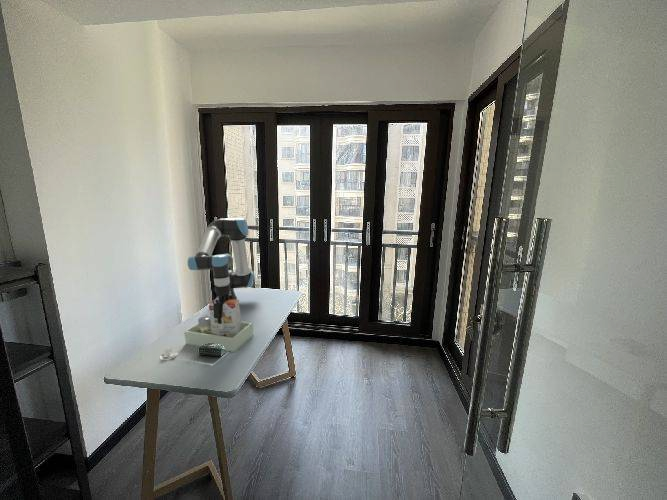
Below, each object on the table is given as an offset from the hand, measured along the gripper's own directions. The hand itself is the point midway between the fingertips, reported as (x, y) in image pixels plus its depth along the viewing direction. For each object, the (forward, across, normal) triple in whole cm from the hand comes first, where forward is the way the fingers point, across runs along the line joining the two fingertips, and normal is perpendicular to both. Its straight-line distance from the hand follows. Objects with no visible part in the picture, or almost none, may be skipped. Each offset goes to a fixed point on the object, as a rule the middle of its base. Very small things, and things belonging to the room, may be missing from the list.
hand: (226, 325), depth 148 cm
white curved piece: (+10, +22, -18) cm, 30 cm away
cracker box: (+7, 0, 0) cm, 7 cm away
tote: (+9, 0, -4) cm, 10 cm away
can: (+9, 0, -13) cm, 16 cm away
